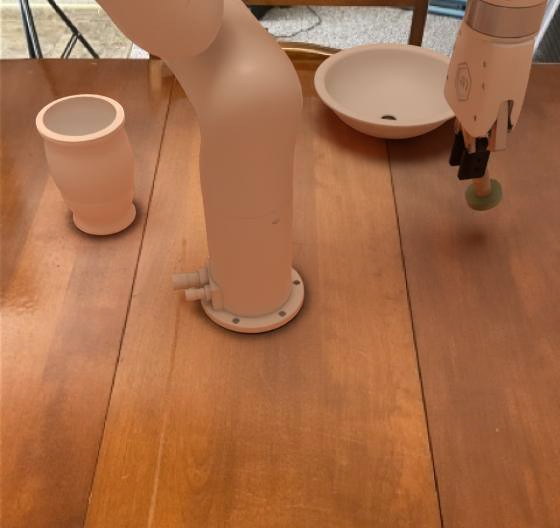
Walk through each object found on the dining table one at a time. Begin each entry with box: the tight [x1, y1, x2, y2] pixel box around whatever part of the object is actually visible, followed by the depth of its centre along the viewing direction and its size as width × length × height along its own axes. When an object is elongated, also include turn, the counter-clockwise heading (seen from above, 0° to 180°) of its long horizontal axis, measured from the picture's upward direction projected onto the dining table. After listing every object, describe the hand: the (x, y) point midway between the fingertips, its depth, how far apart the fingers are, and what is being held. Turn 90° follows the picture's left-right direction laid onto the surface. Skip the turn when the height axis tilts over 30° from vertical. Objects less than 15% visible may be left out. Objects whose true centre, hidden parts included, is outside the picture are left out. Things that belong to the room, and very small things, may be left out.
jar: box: [35, 93, 137, 236], centre depth 87 cm, size 11×10×15 cm
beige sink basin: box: [313, 42, 456, 140], centre depth 105 cm, size 24×24×7 cm
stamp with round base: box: [461, 124, 504, 212], centre depth 80 cm, size 4×4×14 cm
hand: (466, 169), depth 81 cm, fingers closed on stamp with round base, 2 cm apart
